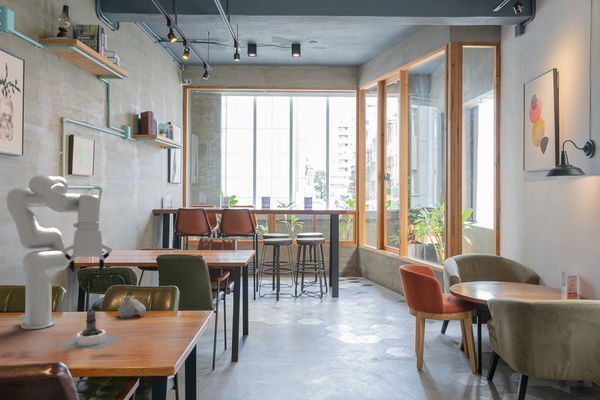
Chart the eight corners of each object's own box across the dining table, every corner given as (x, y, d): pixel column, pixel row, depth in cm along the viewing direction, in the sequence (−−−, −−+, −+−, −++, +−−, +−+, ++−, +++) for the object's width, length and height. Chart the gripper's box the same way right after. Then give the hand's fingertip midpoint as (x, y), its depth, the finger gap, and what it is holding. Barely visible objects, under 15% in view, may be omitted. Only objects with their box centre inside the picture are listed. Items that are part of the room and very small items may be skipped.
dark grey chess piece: (85, 338, 166) (85, 306, 166) (102, 337, 167) (102, 305, 167) (79, 343, 161) (79, 310, 161) (96, 342, 161) (96, 309, 161)
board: (56, 348, 159) (56, 345, 159) (82, 336, 172) (82, 333, 172) (101, 352, 156) (101, 349, 156) (124, 340, 169) (124, 336, 169)
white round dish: (71, 344, 160) (71, 336, 160) (88, 336, 169) (88, 328, 169) (94, 346, 159) (94, 337, 159) (110, 338, 168) (110, 330, 168)
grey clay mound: (121, 325, 197) (113, 303, 196) (119, 319, 208) (112, 298, 206) (148, 315, 202) (141, 293, 201) (145, 309, 213) (139, 288, 211)
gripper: (63, 227, 163) (61, 273, 164) (113, 227, 172) (112, 271, 172) (62, 225, 170) (61, 270, 170) (111, 225, 178) (110, 268, 179)
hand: (86, 270), depth 171 cm, fingers open, 9 cm apart
